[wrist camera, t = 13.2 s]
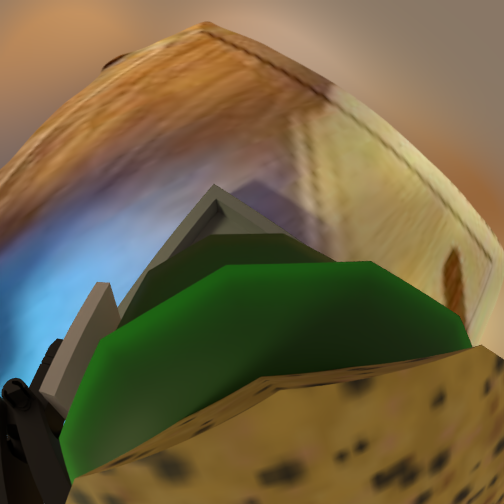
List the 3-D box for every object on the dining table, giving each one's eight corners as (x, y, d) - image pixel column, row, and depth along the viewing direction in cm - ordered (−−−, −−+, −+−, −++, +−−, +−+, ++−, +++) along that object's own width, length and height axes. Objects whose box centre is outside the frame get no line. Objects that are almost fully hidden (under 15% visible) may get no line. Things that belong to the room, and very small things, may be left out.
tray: (103, 354, 27) (84, 357, 23) (216, 202, 32) (214, 183, 28) (264, 465, 25) (268, 484, 20) (372, 310, 30) (391, 306, 26)
